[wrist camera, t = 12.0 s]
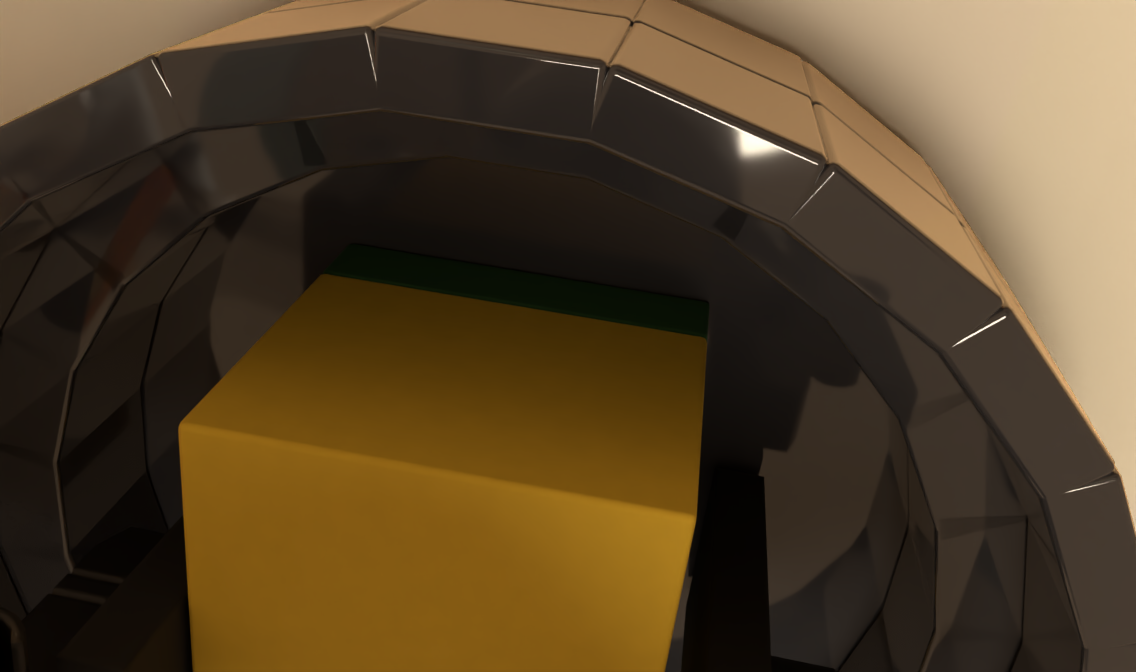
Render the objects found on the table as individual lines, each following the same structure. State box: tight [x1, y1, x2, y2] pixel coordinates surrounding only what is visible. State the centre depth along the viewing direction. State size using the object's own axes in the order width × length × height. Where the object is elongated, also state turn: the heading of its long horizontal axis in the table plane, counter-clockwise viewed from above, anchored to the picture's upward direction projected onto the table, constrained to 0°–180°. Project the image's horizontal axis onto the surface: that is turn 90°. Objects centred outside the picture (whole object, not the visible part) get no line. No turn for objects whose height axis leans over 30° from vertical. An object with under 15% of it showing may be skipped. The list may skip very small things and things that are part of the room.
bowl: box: [0, 0, 1136, 672], centre depth 15 cm, size 17×17×6 cm
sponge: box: [178, 244, 709, 672], centre depth 15 cm, size 8×6×6 cm
